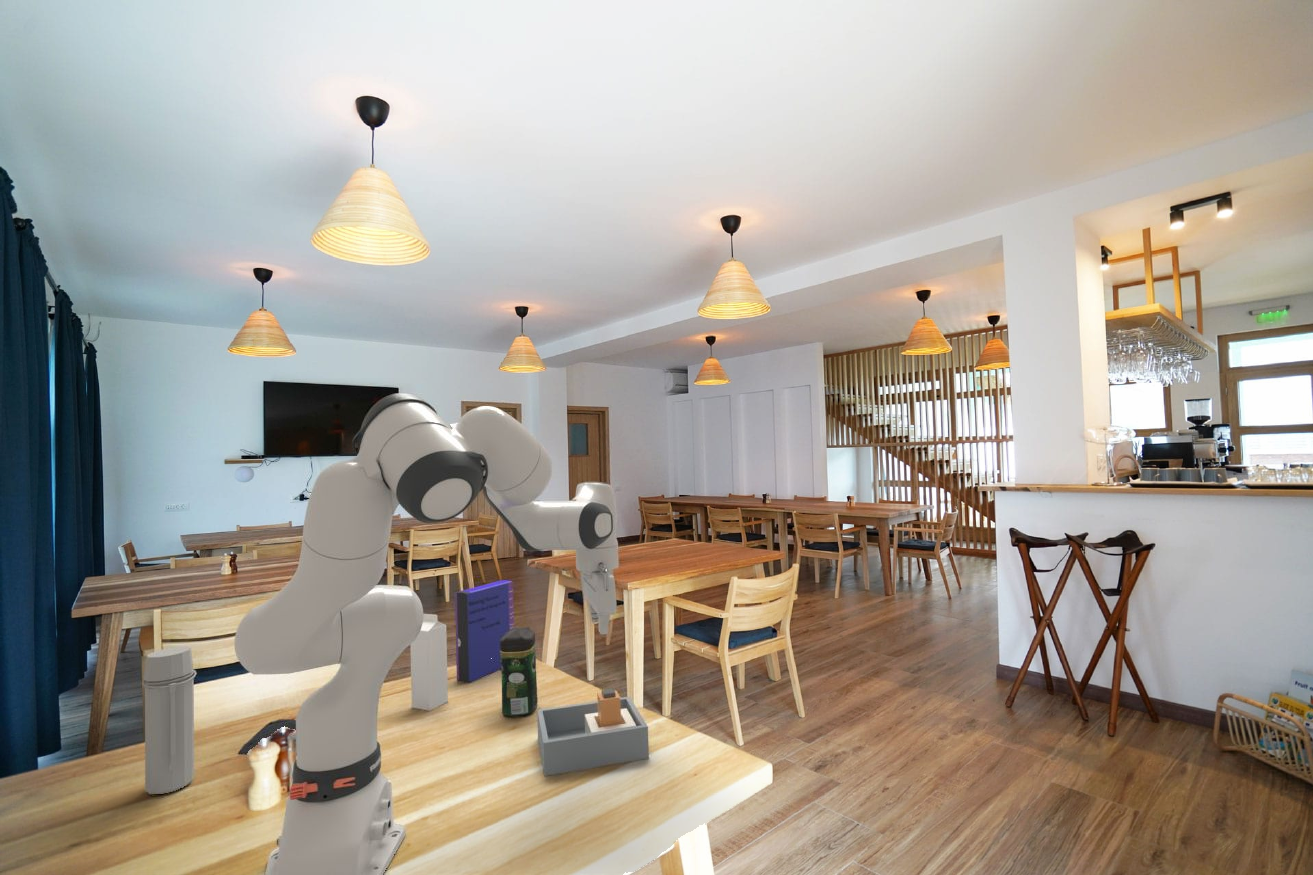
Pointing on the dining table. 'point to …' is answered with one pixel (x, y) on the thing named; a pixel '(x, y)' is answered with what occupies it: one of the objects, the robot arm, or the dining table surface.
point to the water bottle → (169, 720)
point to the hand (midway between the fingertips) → (599, 627)
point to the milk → (429, 665)
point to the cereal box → (482, 628)
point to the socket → (592, 726)
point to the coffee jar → (518, 672)
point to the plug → (608, 708)
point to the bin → (587, 739)
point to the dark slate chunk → (267, 733)
